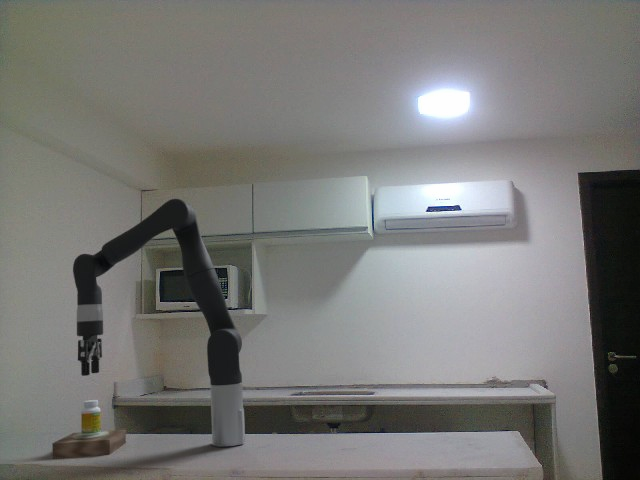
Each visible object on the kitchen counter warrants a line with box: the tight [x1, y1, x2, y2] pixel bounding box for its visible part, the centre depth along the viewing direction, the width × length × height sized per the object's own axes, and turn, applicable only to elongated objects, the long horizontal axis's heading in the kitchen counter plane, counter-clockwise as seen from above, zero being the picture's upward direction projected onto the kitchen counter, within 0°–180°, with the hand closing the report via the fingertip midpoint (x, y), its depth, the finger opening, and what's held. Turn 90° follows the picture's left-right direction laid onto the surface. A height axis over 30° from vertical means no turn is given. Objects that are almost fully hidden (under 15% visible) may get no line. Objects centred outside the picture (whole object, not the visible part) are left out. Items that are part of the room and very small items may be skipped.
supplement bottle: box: [80, 399, 102, 436], centre depth 181 cm, size 5×5×10 cm
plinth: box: [51, 429, 127, 459], centre depth 180 cm, size 16×16×4 cm
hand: (90, 374), depth 183 cm, fingers open, 8 cm apart
